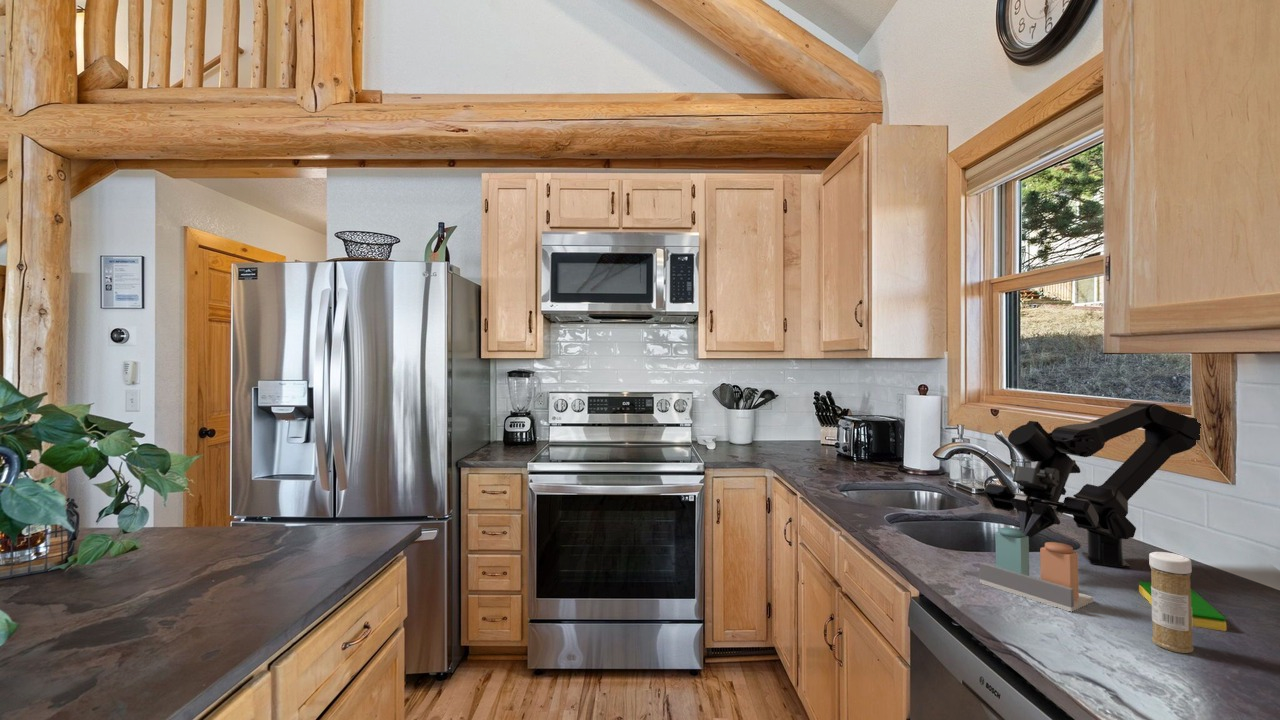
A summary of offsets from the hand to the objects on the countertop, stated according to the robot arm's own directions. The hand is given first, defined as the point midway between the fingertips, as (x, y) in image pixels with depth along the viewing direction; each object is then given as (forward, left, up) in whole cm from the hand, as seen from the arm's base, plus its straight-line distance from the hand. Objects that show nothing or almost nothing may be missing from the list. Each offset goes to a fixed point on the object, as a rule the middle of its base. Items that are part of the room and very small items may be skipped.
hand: (1023, 538), depth 109 cm
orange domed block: (+11, +3, -7) cm, 13 cm away
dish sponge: (+7, +21, -8) cm, 24 cm away
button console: (+8, 0, -8) cm, 11 cm away
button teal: (+3, -2, -7) cm, 8 cm away
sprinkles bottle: (+23, +14, -8) cm, 28 cm away
